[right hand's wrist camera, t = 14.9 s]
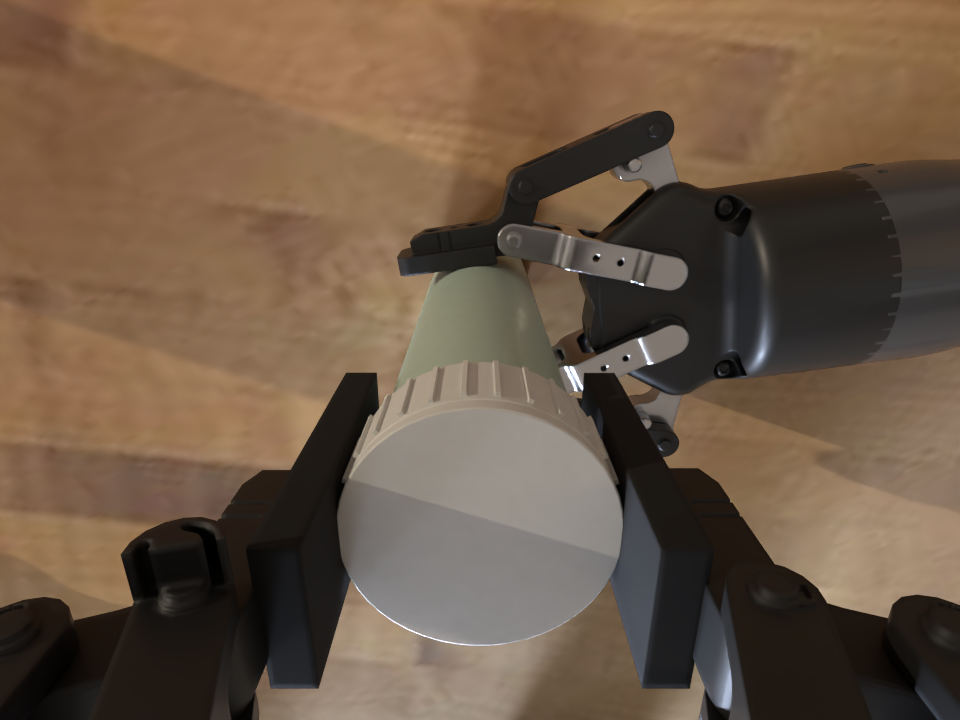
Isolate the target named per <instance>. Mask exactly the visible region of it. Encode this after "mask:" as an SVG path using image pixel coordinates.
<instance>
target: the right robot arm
mask: <svg viewBox="0 0 960 720" xmlns="http://www.w3.org/2000/svg"><path fill="white" fill-rule="evenodd" d="M378 409H379V400H378V385H377V373H346V374H345V376H344V377H343V379H342V381H341V383H340V384H339V386H338V388H337V390H336V391H335V393H334V395H333V397H332V399H331V400H330V402H329V404H328V406H327V407H326V409H325V411H324V413H323V414H322V416H321V418H320V420H319V421H318V423H317V425H316V427H315V428H314V430H313V432H312V434H311V435H310V437H309V439H308V441H307V442H306V444H305V446H304V448H303V449H302V451H301V453H300V455H299V456H298V458H297V460H296V462H295V463H294V465H293V467H292V469H291V470H262V471H261V472H259V473H258V474H257V475H255V476H254V477H252V478H251V479H250V480H248V481H247V482H245V483H244V484H243V485H242V486H241V488H240V489H239V490H238V492H237V493H236V495H235V496H234V498H233V499H232V501H231V505H228V507H227V508H226V509H225V511H224V512H223V514H222V517H221V519H219V520H218V521H215V520H211V519H207V518H203V517H194V518H181V519H177V520H173V521H169V522H165V523H163V524H160V525H158V526H156V527H154V528H151V529H149V530H147V531H145V532H144V533H142V534H141V535H140V536H138V537H137V538H135V539H134V540H133V541H131V542H130V543H129V545H128V546H127V547H126V548H125V550H124V551H123V552H122V554H121V557H122V561H123V565H124V568H125V572H126V575H127V579H128V583H129V586H130V590H131V593H132V597H133V601H134V603H133V606H131V607H127V608H124V609H121V610H117V611H113V612H109V613H104V614H100V615H96V616H91V617H87V618H82V619H78V620H74V621H73V618H72V615H71V612H70V609H69V607H68V606H67V605H66V604H65V603H64V602H63V601H61V600H60V599H54V598H48V597H41V598H34V599H27V600H22V601H19V602H17V603H14V604H10V605H8V606H5V607H2V608H0V720H259V708H258V701H257V695H256V688H257V685H258V683H259V680H260V678H261V675H262V673H263V670H264V668H265V666H266V664H267V670H268V675H269V681H270V686H271V689H274V688H319V685H320V682H321V678H322V675H323V671H324V668H325V665H326V661H327V658H328V654H329V651H330V648H331V644H332V641H333V637H334V634H335V630H336V627H337V624H338V620H339V617H340V613H341V610H342V607H343V603H344V600H345V596H346V593H347V590H348V586H349V583H350V579H351V578H350V577H349V575H348V573H347V570H346V568H345V566H344V564H343V561H342V558H341V550H340V541H339V532H338V522H337V510H338V504H339V499H340V497H341V494H342V491H343V488H344V485H345V484H344V483H341V481H342V478H343V476H344V473H345V471H346V468H347V466H348V463H349V461H350V458H351V456H352V453H353V451H354V449H355V446H356V444H357V441H358V439H359V438H360V437H361V434H362V432H363V429H364V427H365V424H366V422H367V419H368V417H369V416H370V415H372V416H374V415H375V413H376V412H377V411H378ZM581 409H582V410H583V411H584V413H585V414H586V416H587V417H588V416H591V417H592V419H593V421H594V423H595V426H596V428H597V431H598V433H599V436H600V438H601V439H602V441H603V443H604V446H605V448H606V451H607V453H608V456H609V458H610V460H611V463H612V465H613V468H614V470H615V473H616V475H617V478H618V480H619V484H617V485H616V487H617V490H618V492H619V495H620V499H621V503H622V507H623V528H622V537H621V547H620V554H619V559H618V562H617V564H616V567H615V569H614V572H613V573H612V575H611V577H610V581H611V584H612V588H613V591H614V594H615V598H616V601H617V605H618V608H619V611H620V615H621V618H622V622H623V625H624V629H625V632H626V635H627V639H628V642H629V646H630V649H631V652H632V656H633V659H634V663H635V666H636V669H637V673H638V676H639V680H640V683H641V686H642V688H674V689H690V684H691V679H692V673H693V668H694V662H695V664H696V666H697V669H698V671H699V673H700V676H701V678H702V681H703V683H704V686H705V690H704V695H703V701H702V706H701V711H700V716H699V720H960V605H958V604H955V603H952V602H949V601H946V600H943V599H940V598H937V597H930V596H923V595H912V596H905V597H901V598H900V599H899V600H897V601H896V602H895V603H894V604H893V605H892V608H891V611H890V614H889V617H888V618H884V617H880V616H875V615H871V614H867V613H862V612H858V611H854V610H849V609H845V608H841V607H838V606H835V605H831V604H828V603H827V602H826V600H825V599H824V597H823V596H822V594H821V593H820V591H819V590H818V588H817V587H815V586H814V585H813V584H812V583H810V582H809V581H808V580H807V579H806V578H804V577H803V576H801V575H800V574H798V573H796V572H794V571H792V570H790V569H788V568H786V567H783V566H779V565H775V564H774V563H773V561H772V560H771V558H770V557H769V555H768V554H767V552H766V551H765V550H764V548H763V547H762V545H761V544H760V542H759V541H758V539H757V538H756V537H755V535H754V534H753V532H752V531H751V529H750V528H749V526H748V525H747V523H746V522H745V521H744V519H743V518H742V517H740V515H739V512H738V510H737V509H736V508H735V506H734V505H733V503H730V499H729V497H728V496H727V495H726V493H725V492H724V490H723V489H722V487H721V486H720V484H719V483H718V482H717V481H715V480H714V479H712V478H711V477H710V476H708V475H707V474H705V473H704V472H703V471H701V470H700V469H698V468H668V466H667V464H666V462H665V461H664V459H663V457H662V455H661V454H660V452H659V450H658V448H657V447H656V445H655V443H654V441H653V440H652V438H651V436H650V434H649V432H648V431H647V429H646V427H645V425H644V424H643V422H642V420H641V418H640V417H639V415H638V413H637V411H636V410H635V408H634V406H633V404H632V403H631V401H630V399H629V397H628V396H627V394H626V392H625V390H624V389H623V387H622V385H621V383H620V382H619V380H618V378H617V376H616V375H615V373H584V379H583V394H582V408H581Z"/></svg>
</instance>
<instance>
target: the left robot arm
mask: <svg viewBox="0 0 960 720" xmlns="http://www.w3.org/2000/svg"><path fill="white" fill-rule="evenodd" d="M673 133H674V123H673V120H672V118H671V117H670V116H669V115H668V114H667V113H665V112H663V111H653V112H647V113H640V114H635V115H632V116H630V117H628V118H626V119H623V120H621V121H619V122H617V123H614V124H612V125H610V126H608V127H605V128H603V129H601V130H599V131H596V132H594V133H592V134H590V135H587V136H585V137H583V138H581V139H578V140H576V141H574V142H572V143H569V144H567V145H565V146H563V147H560V148H558V149H556V150H554V151H551V152H549V153H547V154H545V155H542V156H540V157H538V158H536V159H533V160H531V161H529V162H527V163H524V164H522V165H520V166H518V167H515V168H514V169H512V170H511V171H510V172H509V174H508V176H507V179H506V187H505V191H504V196H503V200H502V205H501V208H500V210H499V212H498V213H497V214H496V215H495V216H494V217H493V218H491V219H489V220H485V221H478V222H471V223H464V224H457V225H451V226H443V227H436V228H430V229H425V230H423V231H422V232H420V233H418V234H417V235H415V236H414V237H413V238H412V240H411V241H410V244H411V248H408V249H404V250H402V251H401V252H400V254H399V255H398V256H397V259H398V265H399V270H400V275H401V276H413V275H420V274H427V273H435V272H442V271H449V270H456V269H463V268H468V267H478V266H485V265H492V264H497V258H496V257H499V256H506V255H507V256H509V257H514V258H520V259H525V260H530V261H535V262H541V263H546V264H551V265H555V266H557V267H560V268H562V269H566V270H570V271H575V272H579V280H580V283H581V286H582V288H583V291H584V294H585V303H584V308H583V314H582V321H583V328H582V329H580V330H578V331H576V332H573V333H571V334H569V335H567V336H565V337H563V338H562V339H561V340H560V341H559V342H558V343H557V344H556V345H555V346H553V347H552V350H553V353H554V356H555V359H556V362H557V365H558V368H559V371H560V374H561V376H562V379H563V382H564V385H565V388H566V391H567V394H569V393H571V392H574V391H581V392H583V379H584V373H615V375H616V376H617V378H618V377H621V376H623V375H625V374H628V375H630V376H632V377H634V378H636V379H638V380H640V381H642V382H644V383H646V384H647V385H649V386H651V387H653V388H652V389H651V390H650V391H649V392H647V393H645V394H641V395H631V396H629V399H630V401H631V403H632V404H633V406H634V408H635V410H636V411H637V413H638V415H639V417H640V418H641V420H642V422H643V424H644V425H645V427H646V429H647V431H648V432H649V434H650V436H651V438H652V440H653V441H654V443H655V445H656V447H657V448H658V450H659V452H660V454H661V455H662V457H667V456H670V455H672V454H673V453H674V452H675V451H676V450H677V449H678V446H679V440H678V437H677V436H676V434H675V433H674V431H673V425H674V421H675V418H676V414H677V410H678V407H679V403H680V399H681V396H682V395H684V394H687V393H690V392H692V391H694V390H695V389H697V388H698V387H700V386H702V385H703V384H705V383H707V382H710V381H713V380H716V379H745V378H755V377H763V376H771V375H779V374H787V373H795V372H802V371H810V370H818V369H825V368H833V367H841V366H849V365H856V364H864V363H872V362H880V361H888V360H896V359H904V358H912V357H918V356H924V355H928V354H933V353H937V352H941V351H945V350H949V349H952V348H956V347H960V159H959V160H912V161H901V162H892V163H885V164H878V165H875V164H867V163H863V164H857V165H852V166H847V167H844V168H842V169H841V170H836V171H829V172H822V173H816V174H809V175H801V176H794V177H788V178H781V179H774V180H767V181H760V182H753V183H746V184H739V185H732V186H725V187H718V188H710V189H702V188H698V187H695V186H693V185H691V184H688V183H684V182H679V180H678V177H677V173H676V170H675V166H674V163H673V159H672V156H671V152H670V149H669V145H668V142H669V141H670V140H671V138H672V136H673ZM608 170H609V171H610V173H611V175H612V176H613V177H615V178H616V179H619V180H622V181H626V182H631V181H635V180H642V181H643V182H644V183H645V184H646V186H647V188H648V189H647V190H646V191H645V192H644V193H643V194H642V195H641V196H640V197H639V198H638V199H636V200H635V201H634V202H633V203H632V204H631V205H630V206H629V207H628V208H627V209H625V210H624V211H623V212H622V213H621V214H620V215H619V216H618V217H617V218H616V219H614V220H613V221H612V222H611V223H610V224H609V225H608V226H607V227H606V228H605V229H603V230H602V231H597V230H592V229H587V228H582V227H577V226H571V225H566V224H560V223H549V222H544V221H539V220H534V218H535V213H536V209H537V205H538V201H539V200H541V199H543V198H546V197H548V196H550V195H553V194H555V193H557V192H560V191H562V190H564V189H567V188H569V187H571V186H573V185H576V184H578V183H580V182H583V181H585V180H587V179H590V178H592V177H594V176H597V175H599V174H601V173H604V172H606V171H608ZM577 401H578V404H579V406H580V408H582V398H577Z"/></svg>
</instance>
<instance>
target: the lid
mask: <svg viewBox="0 0 960 720" xmlns="http://www.w3.org/2000/svg"><path fill="white" fill-rule="evenodd" d="M341 483H344V484H345V485H344V488H343V491H342V494H341V497H340V499H339V504H338V510H337V522H338V532H339V541H340V550H341V558H342V561H343V564H344V566H345V568H346V570H347V573H348V575H349V577H350V578H351V580H352V581H353V583H354V584H355V586H356V587H357V589H358V590H359V592H360V593H361V594H362V595H363V596H364V597H365V598H366V600H367V601H368V602H369V603H370V604H371V605H373V606H374V607H375V608H376V609H377V610H378V611H379V612H380V613H382V614H383V615H385V616H386V617H388V618H389V619H390V620H392V621H393V622H395V623H397V624H399V625H400V626H402V627H404V628H406V629H408V630H410V631H412V632H415V633H417V634H420V635H422V636H425V637H428V638H432V639H435V640H439V641H443V642H449V643H454V644H462V645H474V646H476V645H498V644H507V643H512V642H517V641H521V640H526V639H529V638H532V637H535V636H538V635H541V634H543V633H546V632H548V631H550V630H552V629H554V628H557V627H558V626H560V625H562V624H563V623H565V622H567V621H568V620H570V619H572V618H573V617H574V616H576V615H577V614H578V613H580V612H581V611H582V610H584V609H585V608H586V607H587V606H588V605H589V604H590V603H591V602H592V601H593V600H594V599H595V598H596V597H597V595H598V594H599V593H600V592H601V590H602V589H603V588H604V587H605V585H606V584H607V582H608V580H609V579H610V577H611V575H612V573H613V572H614V569H615V567H616V564H617V562H618V559H619V554H620V547H621V537H622V528H623V507H622V503H621V499H620V495H619V492H618V490H617V487H616V485H617V484H619V480H618V478H617V475H616V473H615V470H614V468H613V465H612V463H611V460H610V458H609V456H608V453H607V451H606V448H605V446H604V443H603V441H602V439H601V438H600V436H599V433H598V431H597V428H596V426H595V423H594V421H593V419H592V417H591V416H588V417H587V416H586V414H585V413H584V411H583V410H582V409H581V408H580V406H579V404H578V401H577V398H576V397H575V396H574V395H572V396H571V397H570V396H569V395H568V394H567V393H566V392H565V391H564V390H563V389H561V388H560V387H558V386H557V385H556V384H555V380H553V379H552V378H550V379H549V380H548V379H546V378H544V377H542V376H540V375H538V374H536V373H534V372H531V371H529V370H528V367H525V366H523V368H520V367H516V366H512V365H507V364H503V363H499V361H497V360H493V362H468V360H463V363H459V364H452V365H448V366H445V367H441V368H439V366H436V367H433V370H432V371H429V372H427V373H425V374H422V375H420V376H418V377H416V378H415V379H412V378H409V379H407V381H406V384H404V385H403V386H402V387H401V388H399V389H398V390H397V391H395V392H394V393H393V394H392V395H391V396H390V395H389V394H387V395H386V396H385V398H384V400H383V403H382V405H381V407H380V408H379V409H378V411H377V412H376V413H375V415H374V416H372V415H370V416H369V417H368V419H367V422H366V424H365V427H364V429H363V432H362V434H361V437H360V438H359V439H358V441H357V444H356V446H355V449H354V451H353V453H352V456H351V458H350V461H349V463H348V466H347V468H346V471H345V473H344V476H343V478H342V481H341Z"/></svg>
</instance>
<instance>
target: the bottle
mask: <svg viewBox="0 0 960 720" xmlns="http://www.w3.org/2000/svg"><path fill="white" fill-rule="evenodd" d="M496 258H497V264H492V265H485V266H478V267H468V268H463V269H456V270H449V271H442V272H435V273H434V275H433V278H432V281H431V284H430V287H429V289H428V292H427V295H426V298H425V301H424V304H423V307H422V310H421V313H420V316H419V319H418V322H417V325H416V328H415V330H414V333H413V336H412V339H411V342H410V345H409V348H408V351H407V354H406V357H405V360H404V363H403V366H402V368H401V371H400V374H399V377H398V380H397V383H396V386H395V389H394V392H395V391H397V390H398V389H399V388H401V387H402V386H403V385H404V384H406V381H407V379H409V378H412V379H415V378H416V377H418V376H420V375H422V374H425V373H427V372H429V371H432V370H433V367H436V366H439V368H441V367H445V366H448V365H452V364H459V363H463V360H468V362H493V360H497V361H499V363H503V364H507V365H512V366H516V367H520V368H523V366H525V367H528V370H529V371H531V372H534V373H536V374H538V375H540V376H542V377H544V378H546V379H548V380H549V379H550V378H552V379H553V380H555V384H556V385H557V386H558V387H560V388H561V389H563V390H564V391H565V392H566V393H567V391H566V388H565V385H564V382H563V379H562V376H561V374H560V371H559V368H558V365H557V362H556V359H555V356H554V353H553V350H552V347H551V344H550V341H549V338H548V336H547V333H546V330H545V327H544V324H543V321H542V318H541V315H540V312H539V309H538V306H537V303H536V300H535V298H534V295H533V292H532V289H531V286H530V283H529V280H528V277H527V274H526V271H525V268H524V265H523V263H522V260H521V259H520V258H514V257H509V256H507V255H506V256H499V257H496ZM394 392H393V393H394Z"/></svg>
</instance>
